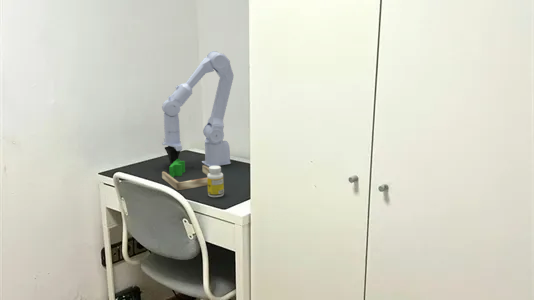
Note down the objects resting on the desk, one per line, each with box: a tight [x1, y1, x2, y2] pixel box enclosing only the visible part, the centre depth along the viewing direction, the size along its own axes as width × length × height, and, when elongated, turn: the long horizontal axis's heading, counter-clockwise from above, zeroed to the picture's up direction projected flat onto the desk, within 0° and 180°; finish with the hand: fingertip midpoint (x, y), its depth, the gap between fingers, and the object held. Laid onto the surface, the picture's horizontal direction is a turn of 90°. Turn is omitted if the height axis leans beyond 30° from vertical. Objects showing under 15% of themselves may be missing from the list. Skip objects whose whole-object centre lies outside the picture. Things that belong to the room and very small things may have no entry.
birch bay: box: [161, 164, 210, 191], centre depth 209 cm, size 17×16×3 cm
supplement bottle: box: [206, 165, 225, 198], centre depth 193 cm, size 5×5×10 cm
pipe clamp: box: [168, 158, 186, 178], centre depth 217 cm, size 11×4×5 cm, turn 173°
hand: (173, 164), depth 225 cm, fingers closed
